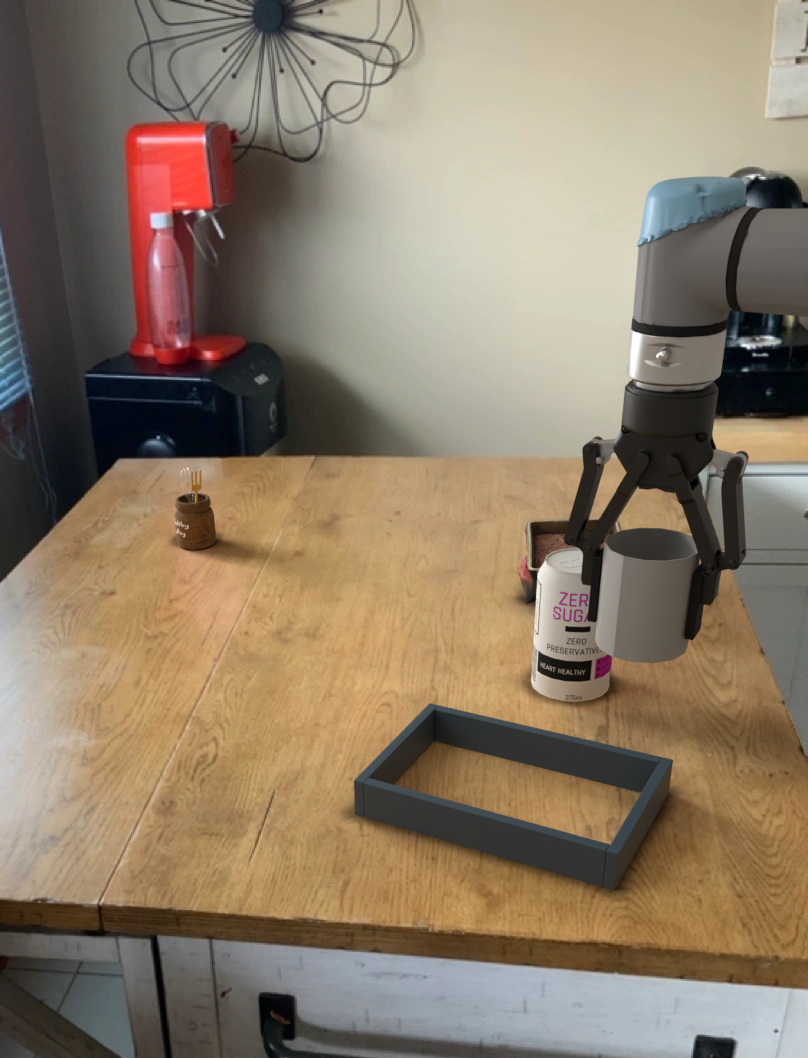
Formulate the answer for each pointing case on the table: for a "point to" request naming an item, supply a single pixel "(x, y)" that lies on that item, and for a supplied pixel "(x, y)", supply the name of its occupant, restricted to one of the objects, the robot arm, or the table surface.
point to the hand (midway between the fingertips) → (643, 624)
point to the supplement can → (566, 634)
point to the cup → (645, 594)
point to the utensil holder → (194, 518)
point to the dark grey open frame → (504, 832)
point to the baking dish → (546, 548)
